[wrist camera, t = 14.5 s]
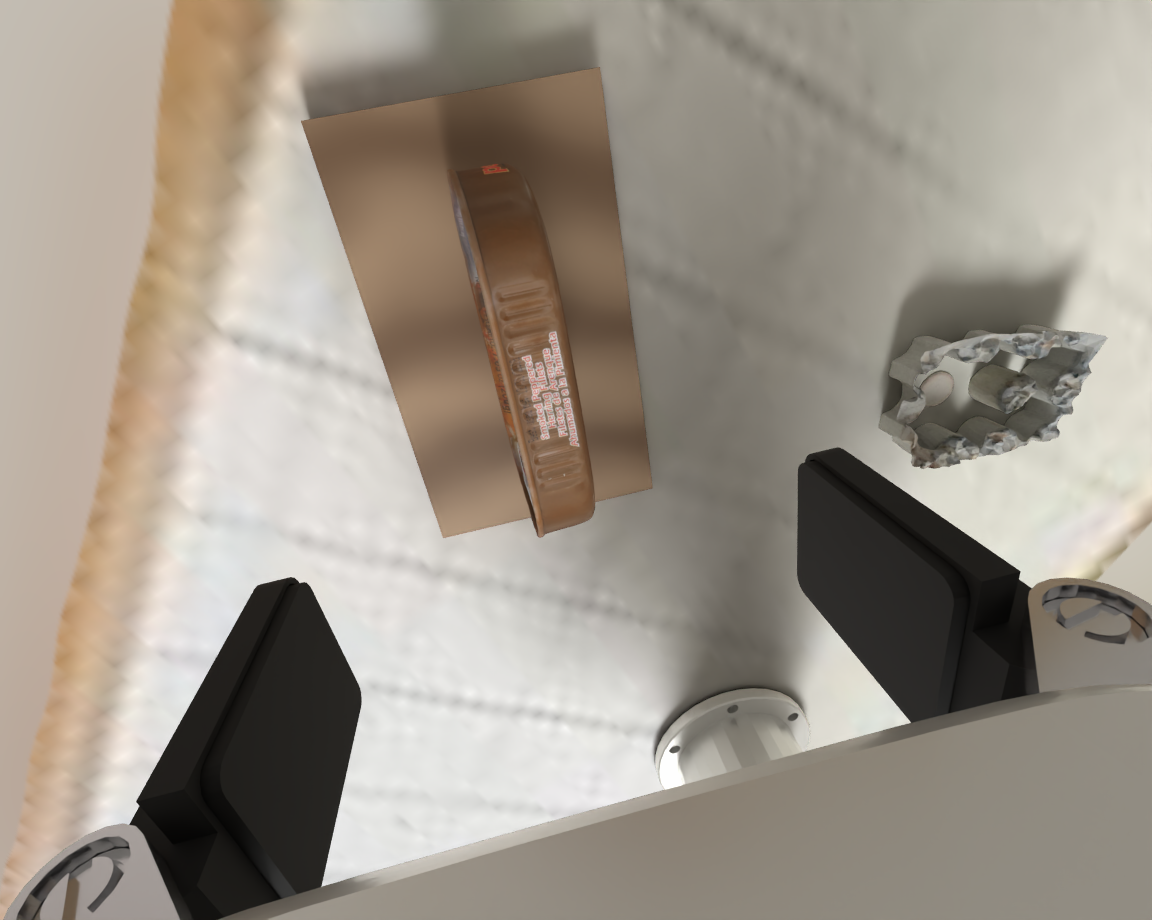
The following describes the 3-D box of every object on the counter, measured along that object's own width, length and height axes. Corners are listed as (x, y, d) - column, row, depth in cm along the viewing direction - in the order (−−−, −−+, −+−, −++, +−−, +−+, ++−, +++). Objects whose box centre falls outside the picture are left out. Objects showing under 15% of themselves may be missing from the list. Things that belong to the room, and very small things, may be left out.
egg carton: (864, 445, 35) (909, 474, 32) (894, 324, 32) (948, 342, 28) (1013, 434, 37) (1073, 461, 33) (1056, 318, 33) (1127, 333, 30)
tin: (443, 174, 23) (430, 166, 16) (517, 160, 24) (538, 147, 16) (519, 483, 30) (534, 580, 23) (576, 470, 30) (610, 562, 23)
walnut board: (645, 476, 33) (652, 488, 32) (444, 523, 32) (443, 538, 31) (592, 73, 24) (599, 67, 23) (310, 125, 23) (301, 121, 22)
